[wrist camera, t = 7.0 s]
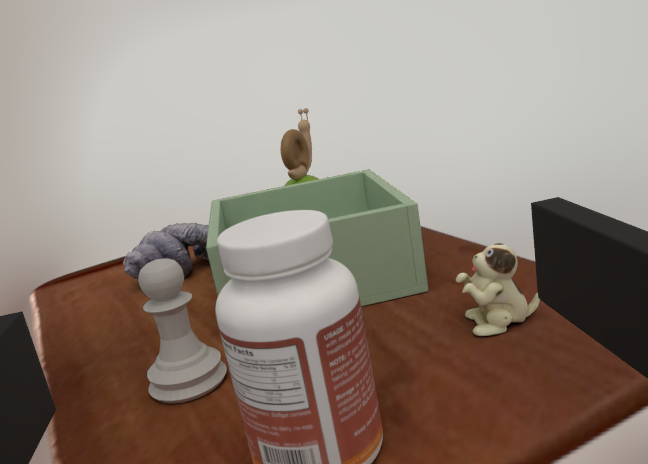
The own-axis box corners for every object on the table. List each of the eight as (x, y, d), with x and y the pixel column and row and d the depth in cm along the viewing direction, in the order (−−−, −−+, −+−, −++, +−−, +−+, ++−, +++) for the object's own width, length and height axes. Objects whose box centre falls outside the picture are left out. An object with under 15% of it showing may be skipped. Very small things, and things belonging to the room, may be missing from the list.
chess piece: (135, 391, 36) (98, 269, 34) (199, 355, 39) (169, 241, 37) (177, 414, 33) (140, 280, 31) (243, 374, 36) (214, 249, 34)
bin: (227, 336, 41) (205, 247, 40) (227, 269, 55) (211, 200, 53) (428, 291, 43) (417, 203, 41) (379, 236, 57) (369, 168, 55)
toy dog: (460, 313, 39) (451, 241, 37) (538, 307, 38) (533, 233, 36) (461, 339, 36) (453, 261, 34) (547, 333, 34) (542, 253, 33)
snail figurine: (344, 212, 67) (326, 105, 64) (322, 231, 62) (302, 115, 58) (301, 215, 69) (281, 111, 66) (276, 233, 64) (253, 121, 60)
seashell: (220, 266, 60) (135, 309, 54) (190, 224, 61) (103, 262, 55) (240, 239, 57) (151, 282, 50) (208, 195, 57) (116, 232, 51)
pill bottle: (354, 397, 32) (318, 195, 28) (408, 465, 26) (371, 222, 23) (240, 438, 30) (188, 228, 27) (272, 520, 24) (211, 265, 21)
